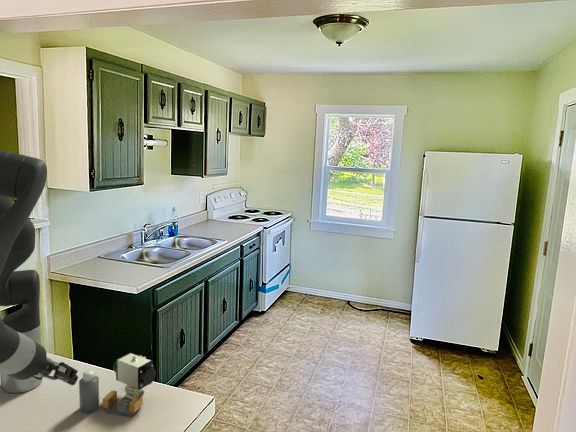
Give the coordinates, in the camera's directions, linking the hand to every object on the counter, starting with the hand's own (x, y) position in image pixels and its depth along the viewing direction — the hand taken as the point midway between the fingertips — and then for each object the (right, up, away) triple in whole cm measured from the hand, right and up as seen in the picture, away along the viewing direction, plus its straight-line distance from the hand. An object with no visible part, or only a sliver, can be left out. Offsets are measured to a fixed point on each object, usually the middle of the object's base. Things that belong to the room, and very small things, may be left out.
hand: (58, 378), depth 96 cm
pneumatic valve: (+11, -13, +19) cm, 25 cm away
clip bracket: (+10, -13, +13) cm, 21 cm away
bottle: (+1, -13, +13) cm, 18 cm away
